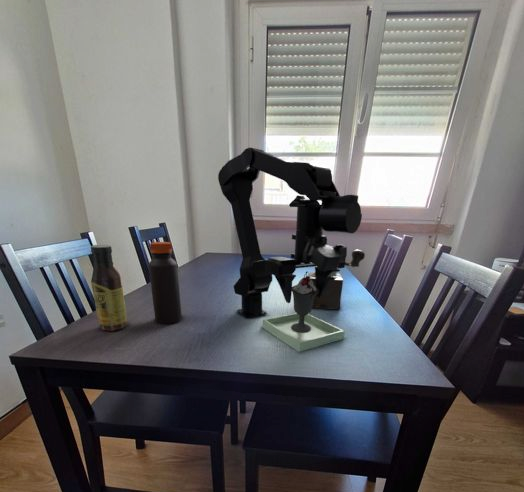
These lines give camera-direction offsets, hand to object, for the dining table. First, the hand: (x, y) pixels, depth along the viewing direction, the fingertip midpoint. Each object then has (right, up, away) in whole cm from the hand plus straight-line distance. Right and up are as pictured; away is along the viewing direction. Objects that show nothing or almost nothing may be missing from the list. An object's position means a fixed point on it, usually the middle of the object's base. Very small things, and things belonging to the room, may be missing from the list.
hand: (304, 299), depth 66 cm
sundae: (0, -7, +4) cm, 8 cm away
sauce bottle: (-47, -7, +4) cm, 47 cm away
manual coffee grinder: (+12, 0, +24) cm, 27 cm away
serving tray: (0, -8, +3) cm, 9 cm away
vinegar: (-35, -5, +9) cm, 36 cm away
